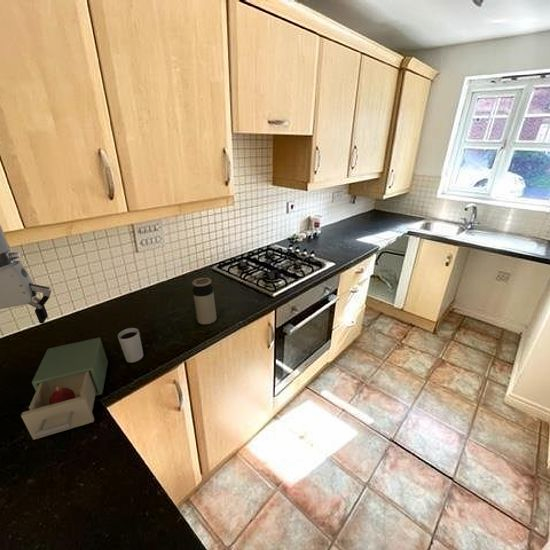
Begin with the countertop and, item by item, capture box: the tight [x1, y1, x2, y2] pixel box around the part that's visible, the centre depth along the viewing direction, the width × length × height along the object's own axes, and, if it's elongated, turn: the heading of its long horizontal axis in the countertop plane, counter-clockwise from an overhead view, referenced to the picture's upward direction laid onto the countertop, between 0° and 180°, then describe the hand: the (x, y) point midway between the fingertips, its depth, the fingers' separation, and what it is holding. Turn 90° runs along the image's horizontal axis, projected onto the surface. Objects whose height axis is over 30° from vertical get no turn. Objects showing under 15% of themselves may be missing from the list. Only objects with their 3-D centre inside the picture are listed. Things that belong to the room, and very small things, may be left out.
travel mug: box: [191, 277, 218, 325], centre depth 123 cm, size 8×8×18 cm
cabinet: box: [31, 337, 109, 397], centre depth 93 cm, size 16×15×10 cm
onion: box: [49, 386, 75, 405], centre depth 81 cm, size 6×6×8 cm
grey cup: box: [117, 327, 144, 363], centre depth 104 cm, size 7×7×10 cm
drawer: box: [20, 371, 97, 441], centre depth 80 cm, size 20×14×8 cm
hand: (20, 325), depth 74 cm, fingers open, 9 cm apart
